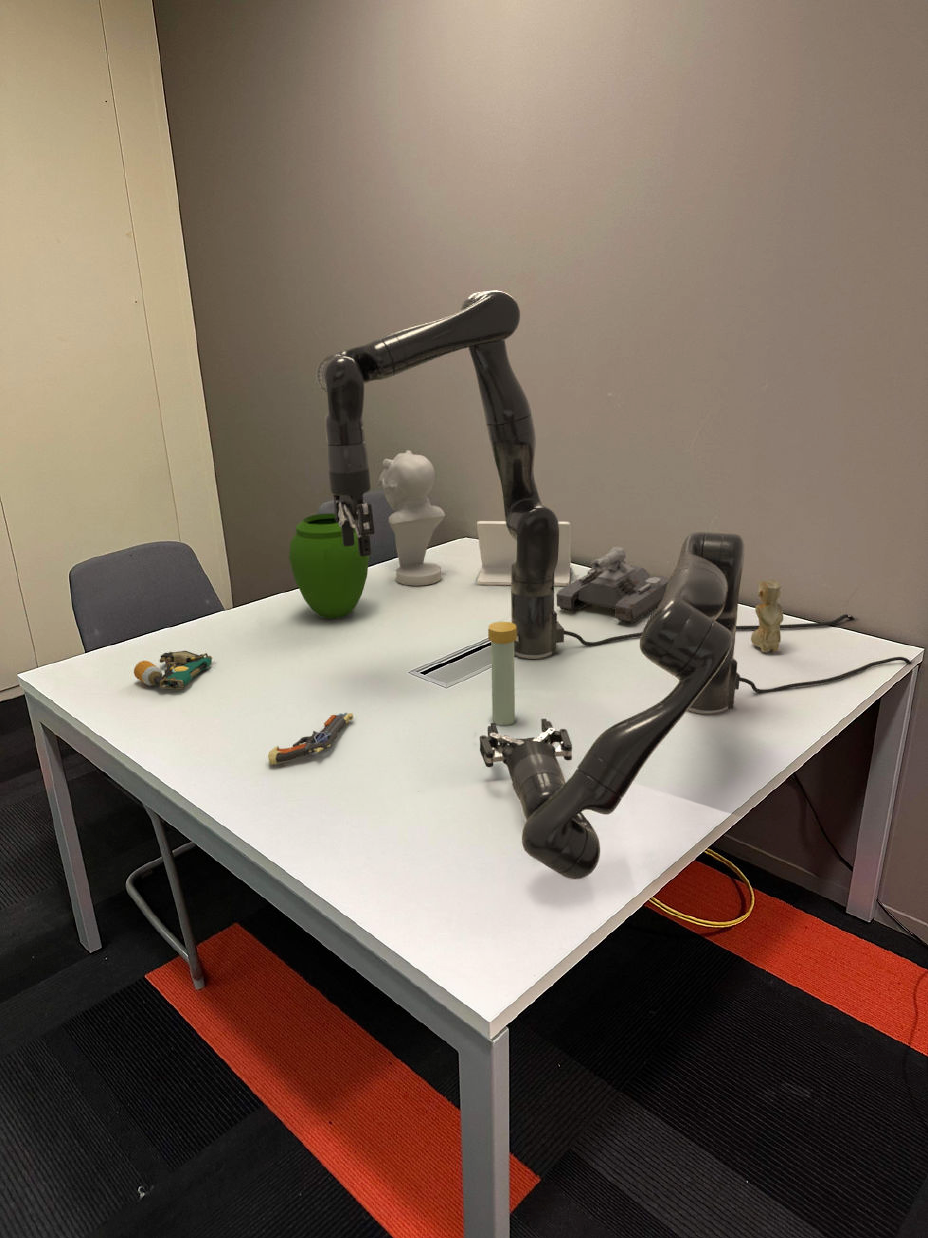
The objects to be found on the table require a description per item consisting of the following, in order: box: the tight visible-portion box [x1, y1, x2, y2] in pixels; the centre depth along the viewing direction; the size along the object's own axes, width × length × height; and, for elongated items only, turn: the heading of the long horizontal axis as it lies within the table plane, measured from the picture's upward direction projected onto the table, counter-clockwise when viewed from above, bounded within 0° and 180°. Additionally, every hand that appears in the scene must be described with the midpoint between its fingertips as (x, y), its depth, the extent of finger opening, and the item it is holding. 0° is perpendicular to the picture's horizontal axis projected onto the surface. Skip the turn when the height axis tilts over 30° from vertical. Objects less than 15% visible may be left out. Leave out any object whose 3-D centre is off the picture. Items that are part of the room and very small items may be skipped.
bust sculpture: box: [378, 449, 446, 587], centre depth 236 cm, size 16×24×35 cm, turn 28°
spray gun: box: [133, 650, 213, 690], centre depth 180 cm, size 4×17×15 cm
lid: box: [487, 621, 517, 644], centre depth 152 cm, size 5×5×2 cm
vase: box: [288, 512, 370, 620], centre depth 209 cm, size 20×20×24 cm
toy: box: [556, 546, 671, 624], centre depth 212 cm, size 25×20×15 cm
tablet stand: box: [476, 520, 572, 587], centre depth 236 cm, size 18×25×17 cm
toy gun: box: [267, 712, 354, 765], centre depth 151 cm, size 3×19×10 cm
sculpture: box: [750, 579, 784, 653], centre depth 183 cm, size 6×7×15 cm
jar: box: [490, 641, 516, 726], centre depth 155 cm, size 4×4×18 cm
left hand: (356, 550), depth 165 cm, fingers open, 8 cm apart
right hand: (518, 725), depth 142 cm, fingers open, 8 cm apart
